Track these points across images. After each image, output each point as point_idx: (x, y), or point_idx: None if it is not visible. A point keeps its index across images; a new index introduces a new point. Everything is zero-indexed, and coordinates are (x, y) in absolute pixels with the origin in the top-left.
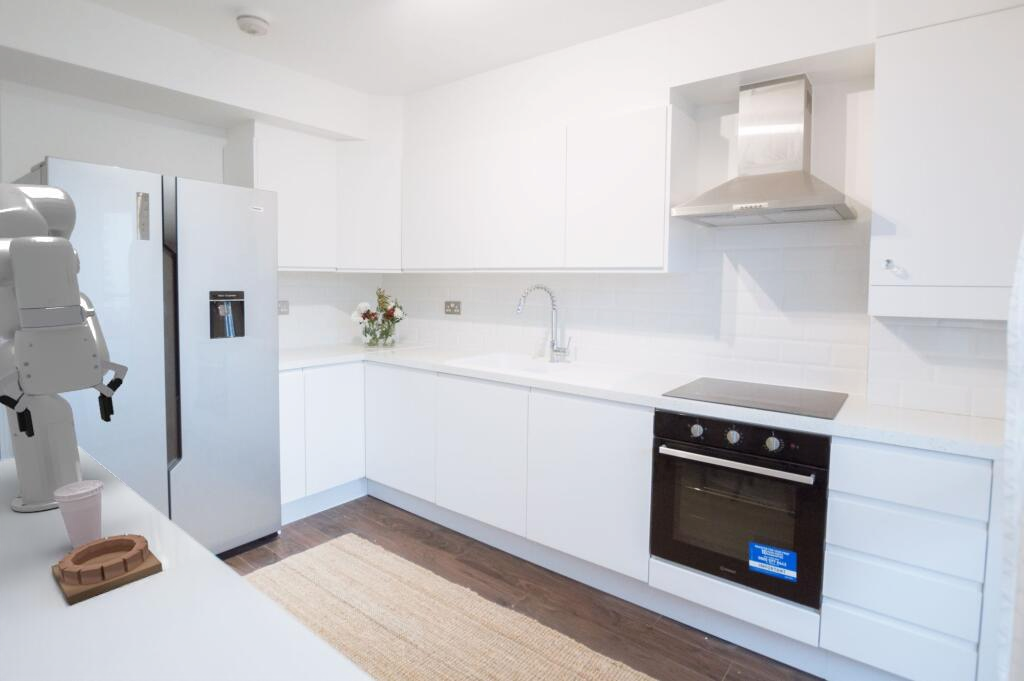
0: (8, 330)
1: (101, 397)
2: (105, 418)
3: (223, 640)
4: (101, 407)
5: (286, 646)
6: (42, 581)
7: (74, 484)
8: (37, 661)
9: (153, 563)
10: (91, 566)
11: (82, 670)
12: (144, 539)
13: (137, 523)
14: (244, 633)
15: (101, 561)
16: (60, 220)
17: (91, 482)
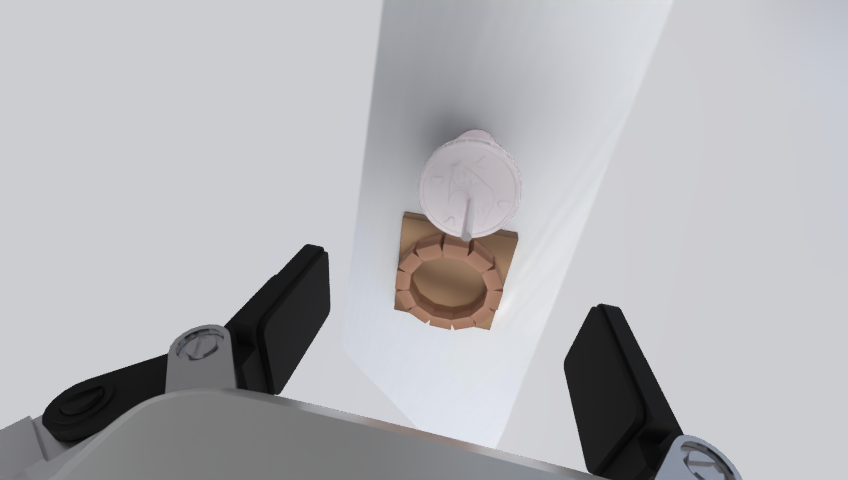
0: None
1: (623, 448)
2: (566, 377)
3: (454, 431)
4: (594, 390)
5: None
6: (391, 221)
7: (474, 153)
8: (357, 353)
9: (483, 323)
10: (421, 311)
11: (377, 384)
12: (496, 304)
13: (573, 140)
14: (467, 437)
15: (449, 265)
16: None
17: (503, 182)
